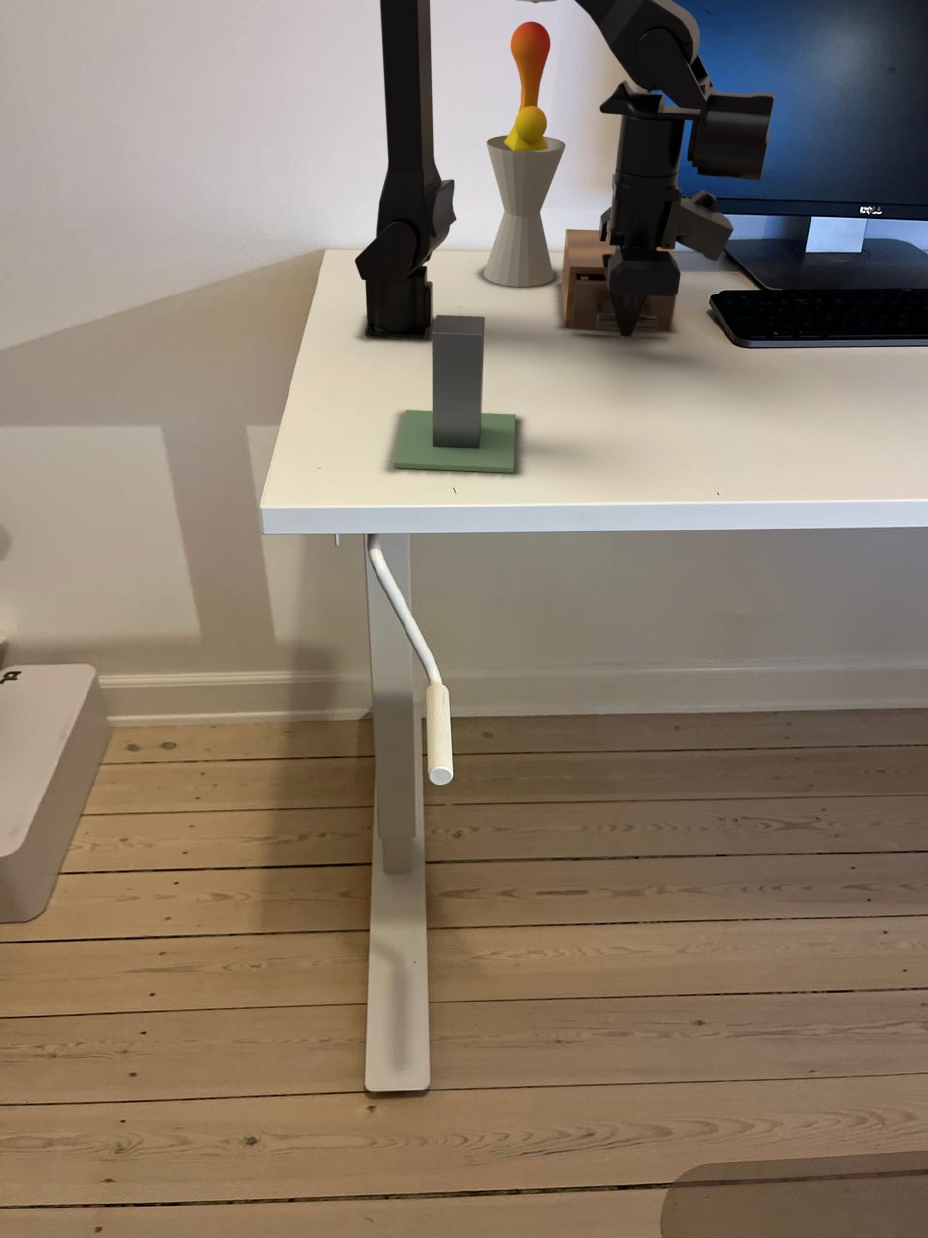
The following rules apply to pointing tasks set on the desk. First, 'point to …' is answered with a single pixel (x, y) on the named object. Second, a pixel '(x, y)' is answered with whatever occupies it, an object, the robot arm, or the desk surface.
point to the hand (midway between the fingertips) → (625, 335)
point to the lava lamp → (524, 171)
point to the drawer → (599, 314)
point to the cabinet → (584, 263)
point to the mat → (488, 457)
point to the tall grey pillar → (457, 380)
